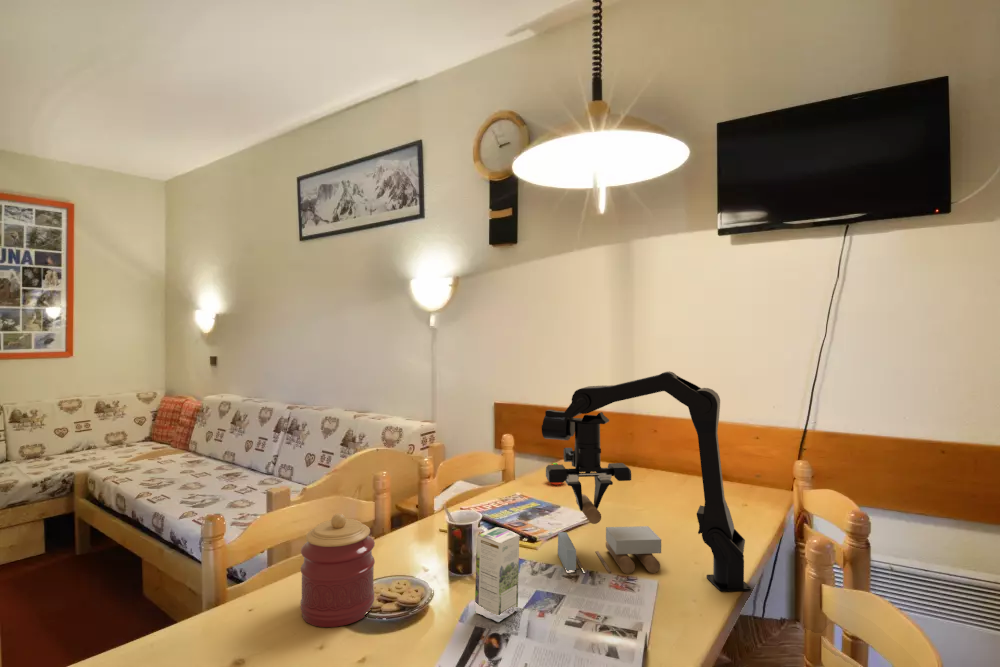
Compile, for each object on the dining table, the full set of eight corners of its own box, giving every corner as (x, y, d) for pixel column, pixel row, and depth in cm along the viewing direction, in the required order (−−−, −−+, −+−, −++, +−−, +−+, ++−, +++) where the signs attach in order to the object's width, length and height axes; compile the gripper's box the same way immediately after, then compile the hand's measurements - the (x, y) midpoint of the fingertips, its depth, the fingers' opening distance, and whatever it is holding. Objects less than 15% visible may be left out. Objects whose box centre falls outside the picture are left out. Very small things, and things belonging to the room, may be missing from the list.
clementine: (541, 481, 185) (541, 460, 185) (560, 480, 187) (560, 459, 187) (550, 488, 178) (550, 466, 178) (569, 486, 180) (570, 465, 180)
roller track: (660, 572, 115) (660, 558, 115) (583, 575, 114) (583, 560, 114) (640, 550, 127) (641, 537, 127) (571, 551, 126) (571, 539, 126)
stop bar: (575, 573, 115) (576, 549, 115) (566, 573, 115) (566, 549, 115) (566, 553, 125) (566, 532, 125) (557, 554, 125) (558, 532, 125)
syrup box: (494, 601, 103) (495, 525, 103) (519, 612, 99) (519, 532, 99) (474, 613, 98) (474, 533, 98) (499, 625, 95) (500, 542, 94)
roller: (601, 523, 118) (601, 509, 118) (587, 524, 118) (587, 510, 118) (588, 506, 130) (588, 493, 130) (576, 506, 130) (576, 494, 130)
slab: (661, 553, 118) (661, 539, 118) (616, 554, 117) (616, 540, 117) (648, 539, 125) (648, 526, 125) (605, 540, 125) (606, 527, 125)
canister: (380, 592, 106) (380, 502, 106) (366, 629, 93) (366, 526, 93) (313, 593, 106) (313, 502, 105) (289, 629, 93) (290, 526, 92)
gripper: (617, 434, 132) (618, 498, 132) (542, 436, 131) (542, 500, 131) (631, 443, 121) (632, 513, 121) (549, 445, 120) (549, 516, 120)
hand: (588, 510), depth 124 cm, fingers closed on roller, 3 cm apart
